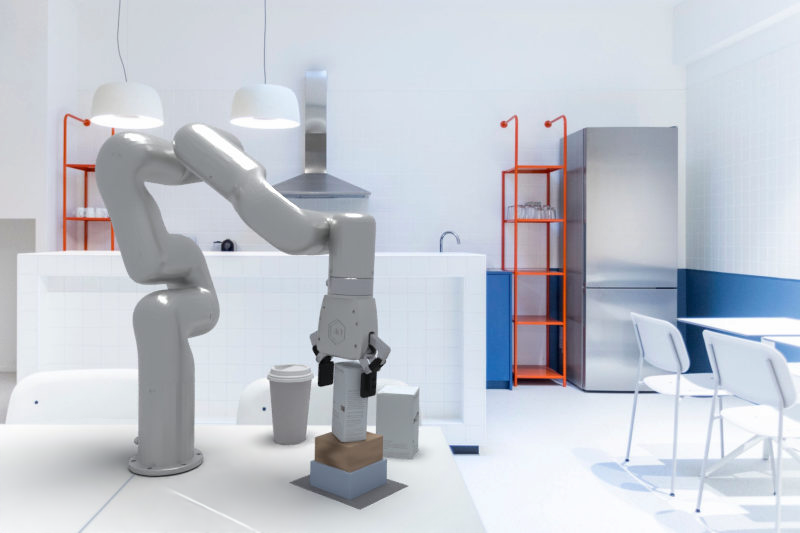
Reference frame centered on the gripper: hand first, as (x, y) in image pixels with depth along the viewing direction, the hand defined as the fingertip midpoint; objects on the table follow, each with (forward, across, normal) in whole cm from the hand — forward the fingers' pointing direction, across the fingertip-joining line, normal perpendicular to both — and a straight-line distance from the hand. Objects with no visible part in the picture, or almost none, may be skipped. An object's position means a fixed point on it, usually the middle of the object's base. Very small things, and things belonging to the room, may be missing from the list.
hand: (346, 390), depth 100 cm
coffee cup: (+17, -25, +10) cm, 32 cm away
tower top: (+12, +1, 0) cm, 12 cm away
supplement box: (+16, -3, +18) cm, 25 cm away
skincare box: (+8, +1, 0) cm, 8 cm away
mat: (+16, +1, 0) cm, 16 cm away
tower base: (+16, +1, 0) cm, 16 cm away
